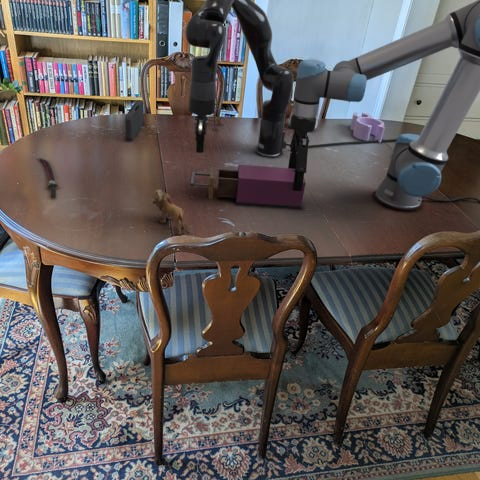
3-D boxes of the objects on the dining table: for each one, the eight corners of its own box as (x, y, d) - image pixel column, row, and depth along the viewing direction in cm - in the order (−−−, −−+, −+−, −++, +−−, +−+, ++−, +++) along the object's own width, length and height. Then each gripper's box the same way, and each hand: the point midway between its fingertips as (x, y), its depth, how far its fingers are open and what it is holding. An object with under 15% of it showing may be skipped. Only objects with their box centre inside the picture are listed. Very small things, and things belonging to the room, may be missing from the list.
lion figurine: (148, 218, 136) (147, 190, 131) (161, 212, 139) (161, 185, 134) (183, 238, 128) (184, 210, 123) (197, 232, 132) (198, 204, 127)
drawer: (189, 197, 147) (189, 176, 143) (191, 184, 154) (191, 164, 150) (269, 203, 148) (272, 182, 145) (267, 190, 156) (270, 170, 152)
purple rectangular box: (236, 204, 148) (238, 178, 143) (235, 189, 156) (238, 164, 151) (301, 209, 149) (305, 182, 144) (297, 194, 158) (301, 169, 153)
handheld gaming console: (137, 122, 202) (137, 99, 196) (144, 122, 202) (143, 99, 196) (124, 141, 182) (123, 116, 177) (131, 141, 182) (131, 116, 177)
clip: (343, 126, 223) (346, 112, 219) (367, 127, 225) (371, 113, 221) (360, 142, 206) (364, 127, 202) (386, 142, 209) (390, 127, 205)
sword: (61, 197, 141) (61, 193, 140) (50, 198, 139) (50, 194, 139) (49, 160, 164) (48, 156, 163) (39, 160, 163) (39, 157, 162)
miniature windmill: (215, 130, 202) (220, 57, 186) (196, 127, 203) (199, 55, 187) (220, 124, 209) (225, 53, 193) (202, 121, 210) (205, 51, 194)
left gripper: (190, 88, 139) (189, 143, 149) (187, 101, 128) (185, 159, 138) (216, 90, 140) (212, 144, 149) (215, 103, 129) (211, 161, 138)
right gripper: (287, 102, 148) (279, 164, 160) (296, 129, 127) (286, 198, 139) (310, 104, 149) (300, 165, 160) (323, 131, 128) (311, 199, 139)
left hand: (199, 151), depth 143 cm, fingers closed
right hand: (294, 180), depth 149 cm, fingers open, 13 cm apart
